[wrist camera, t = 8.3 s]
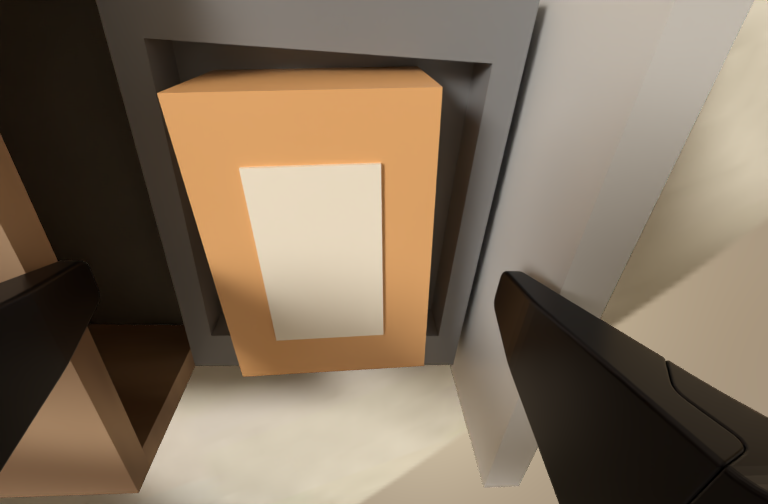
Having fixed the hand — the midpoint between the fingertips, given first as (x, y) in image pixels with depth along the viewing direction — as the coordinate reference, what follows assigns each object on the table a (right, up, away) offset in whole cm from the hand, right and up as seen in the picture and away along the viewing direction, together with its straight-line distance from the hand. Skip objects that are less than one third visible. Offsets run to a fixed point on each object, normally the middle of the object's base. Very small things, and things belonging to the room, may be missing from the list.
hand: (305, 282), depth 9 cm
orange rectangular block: (0, +2, +4) cm, 5 cm away
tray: (+1, +3, +5) cm, 6 cm away
